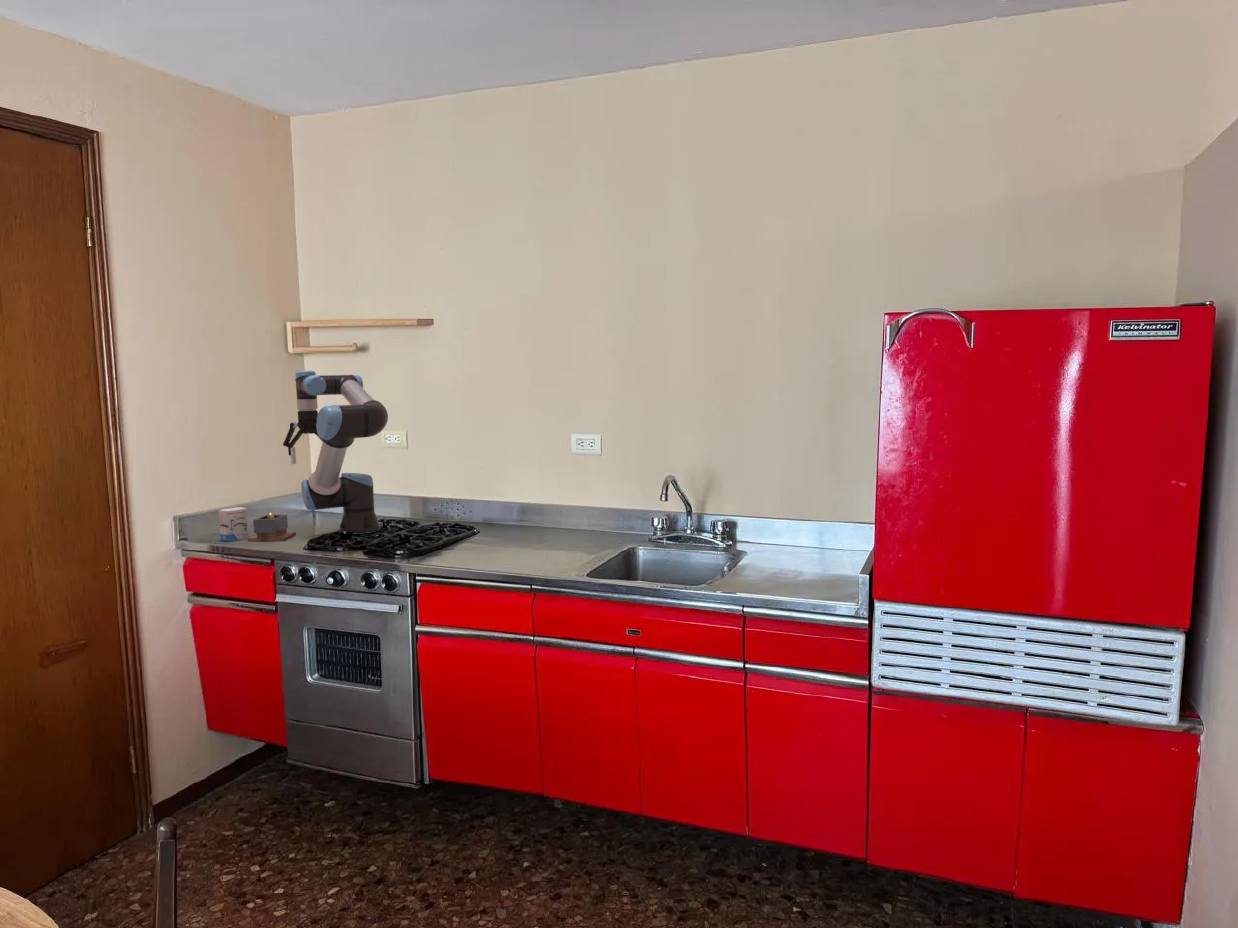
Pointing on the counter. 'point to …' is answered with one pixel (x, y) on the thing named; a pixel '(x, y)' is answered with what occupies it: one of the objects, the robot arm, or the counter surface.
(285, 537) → the stand
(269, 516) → the post
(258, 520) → the collar
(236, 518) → the ink box
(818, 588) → the counter surface
